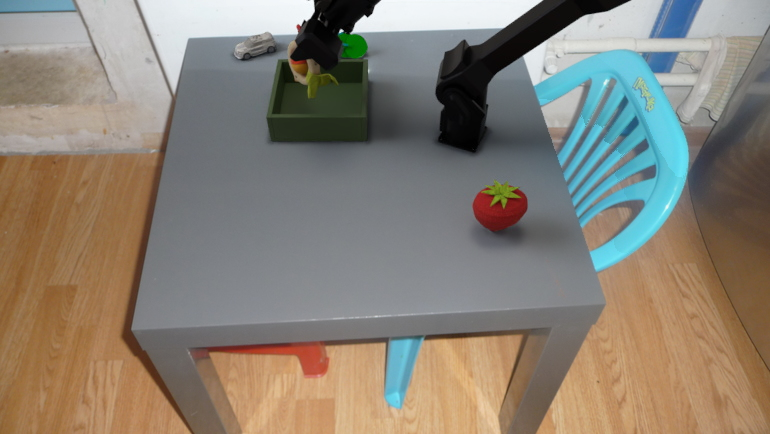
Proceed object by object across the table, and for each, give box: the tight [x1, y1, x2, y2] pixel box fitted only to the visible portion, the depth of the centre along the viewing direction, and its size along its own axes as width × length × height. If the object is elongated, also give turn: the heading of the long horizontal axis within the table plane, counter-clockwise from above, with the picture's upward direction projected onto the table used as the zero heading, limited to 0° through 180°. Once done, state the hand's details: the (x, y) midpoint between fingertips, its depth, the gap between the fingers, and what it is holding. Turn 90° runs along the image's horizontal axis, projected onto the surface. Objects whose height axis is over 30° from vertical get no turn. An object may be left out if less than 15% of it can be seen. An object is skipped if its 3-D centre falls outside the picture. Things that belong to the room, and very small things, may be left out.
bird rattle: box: [287, 23, 338, 99], centre depth 90 cm, size 6×11×9 cm
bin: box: [265, 58, 370, 142], centre depth 98 cm, size 16×16×5 cm
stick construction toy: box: [338, 30, 369, 59], centre depth 110 cm, size 12×7×8 cm
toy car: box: [233, 31, 278, 61], centre depth 111 cm, size 4×8×3 cm, turn 118°
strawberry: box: [471, 178, 529, 233], centre depth 79 cm, size 6×8×10 cm
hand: (296, 49), depth 89 cm, fingers closed on bird rattle, 4 cm apart
